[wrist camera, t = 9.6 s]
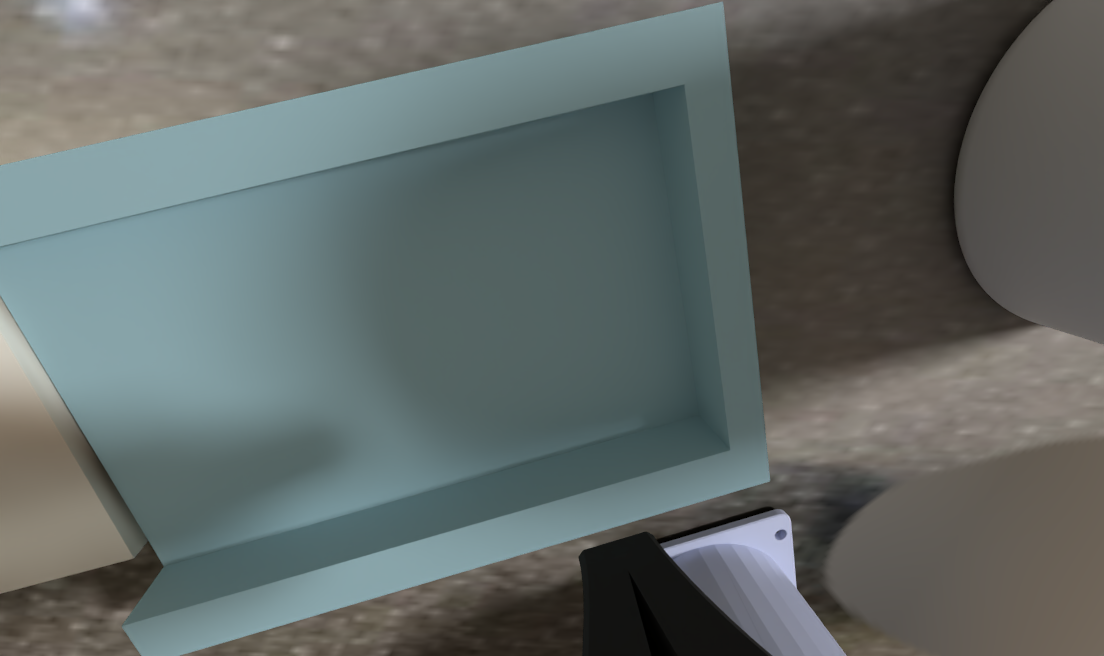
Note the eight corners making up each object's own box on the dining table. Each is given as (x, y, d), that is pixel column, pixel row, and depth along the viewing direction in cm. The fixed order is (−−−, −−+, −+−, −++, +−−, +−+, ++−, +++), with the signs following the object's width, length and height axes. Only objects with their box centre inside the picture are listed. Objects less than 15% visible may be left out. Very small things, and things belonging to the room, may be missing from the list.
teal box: (674, 28, 16) (722, 1, 13) (725, 432, 21) (770, 481, 18) (-35, 190, 15) (-164, 202, 12) (196, 584, 19) (147, 665, 16)
